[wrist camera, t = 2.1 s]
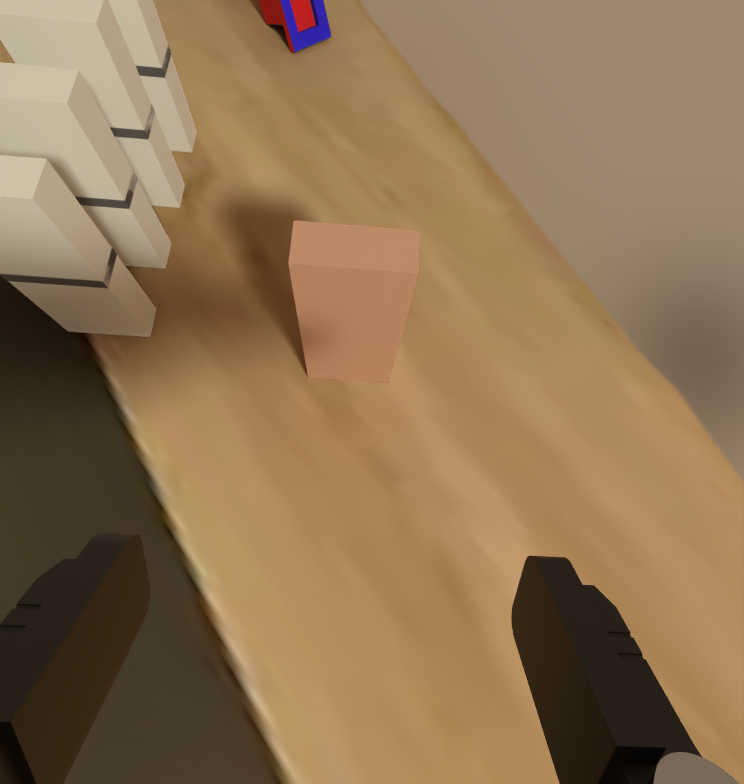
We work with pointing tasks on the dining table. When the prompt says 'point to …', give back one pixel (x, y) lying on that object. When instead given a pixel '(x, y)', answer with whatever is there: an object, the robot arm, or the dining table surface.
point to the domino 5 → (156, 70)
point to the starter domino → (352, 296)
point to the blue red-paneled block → (298, 20)
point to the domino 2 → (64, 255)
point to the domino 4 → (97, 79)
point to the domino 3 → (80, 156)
